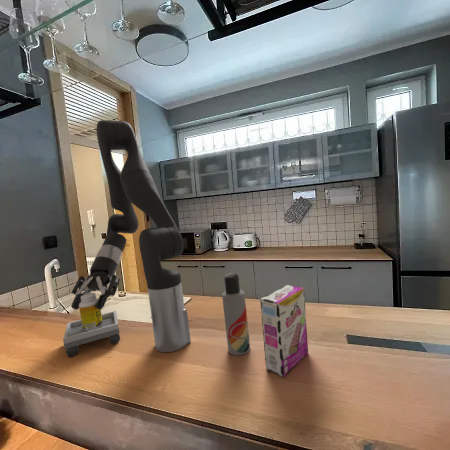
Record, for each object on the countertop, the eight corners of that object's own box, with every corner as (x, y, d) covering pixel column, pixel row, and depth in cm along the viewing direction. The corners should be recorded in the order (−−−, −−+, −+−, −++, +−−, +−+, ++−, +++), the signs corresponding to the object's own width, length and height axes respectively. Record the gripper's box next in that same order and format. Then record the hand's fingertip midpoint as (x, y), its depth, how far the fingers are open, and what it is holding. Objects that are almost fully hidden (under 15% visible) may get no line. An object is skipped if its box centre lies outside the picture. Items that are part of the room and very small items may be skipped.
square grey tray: (118, 327, 88) (115, 310, 87) (120, 342, 77) (118, 323, 76) (70, 340, 82) (67, 322, 81) (66, 359, 71) (62, 339, 70)
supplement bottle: (100, 329, 77) (95, 296, 76) (80, 333, 76) (74, 299, 75) (105, 321, 82) (100, 290, 81) (86, 325, 81) (81, 293, 80)
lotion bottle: (249, 356, 63) (240, 276, 62) (226, 355, 65) (217, 277, 63) (251, 343, 69) (243, 270, 67) (230, 343, 70) (222, 271, 68)
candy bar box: (284, 379, 54) (277, 303, 53) (265, 369, 58) (258, 298, 56) (310, 353, 62) (304, 286, 61) (291, 346, 66) (286, 283, 64)
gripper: (82, 256, 86) (57, 303, 76) (118, 254, 82) (98, 303, 72) (96, 267, 92) (75, 313, 82) (131, 266, 88) (113, 313, 78)
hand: (86, 308), depth 77 cm, fingers open, 8 cm apart
